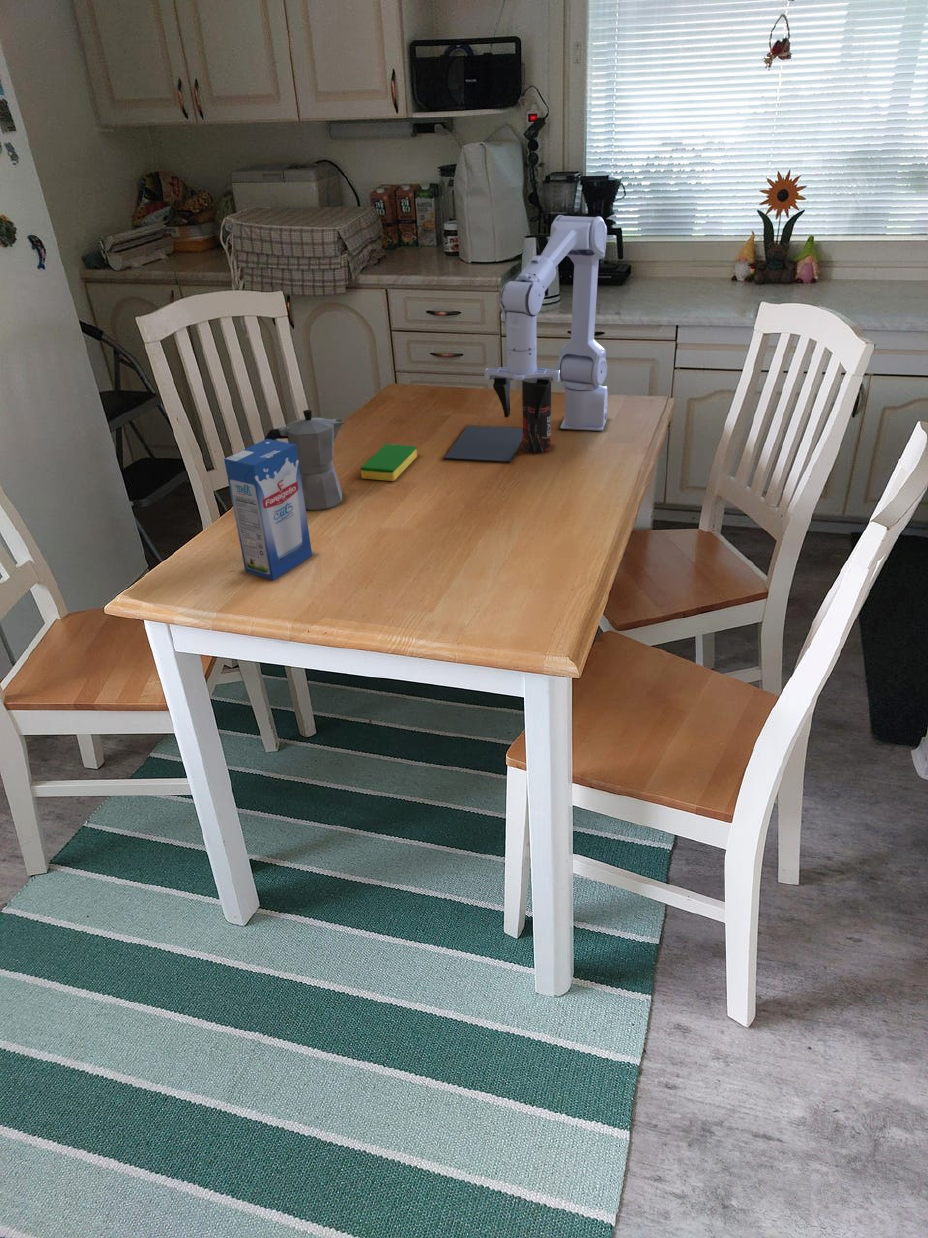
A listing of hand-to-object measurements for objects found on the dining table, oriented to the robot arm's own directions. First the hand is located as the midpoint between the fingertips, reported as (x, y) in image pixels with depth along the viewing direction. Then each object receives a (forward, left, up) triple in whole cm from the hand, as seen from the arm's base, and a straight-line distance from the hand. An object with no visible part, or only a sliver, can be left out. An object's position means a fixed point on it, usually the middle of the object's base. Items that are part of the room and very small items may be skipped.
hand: (522, 416), depth 182 cm
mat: (+10, -11, -10) cm, 18 cm away
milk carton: (+32, +49, -11) cm, 59 cm away
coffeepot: (+36, +24, -11) cm, 45 cm away
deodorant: (-1, -10, -11) cm, 15 cm away
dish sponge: (+27, +5, -11) cm, 29 cm away
